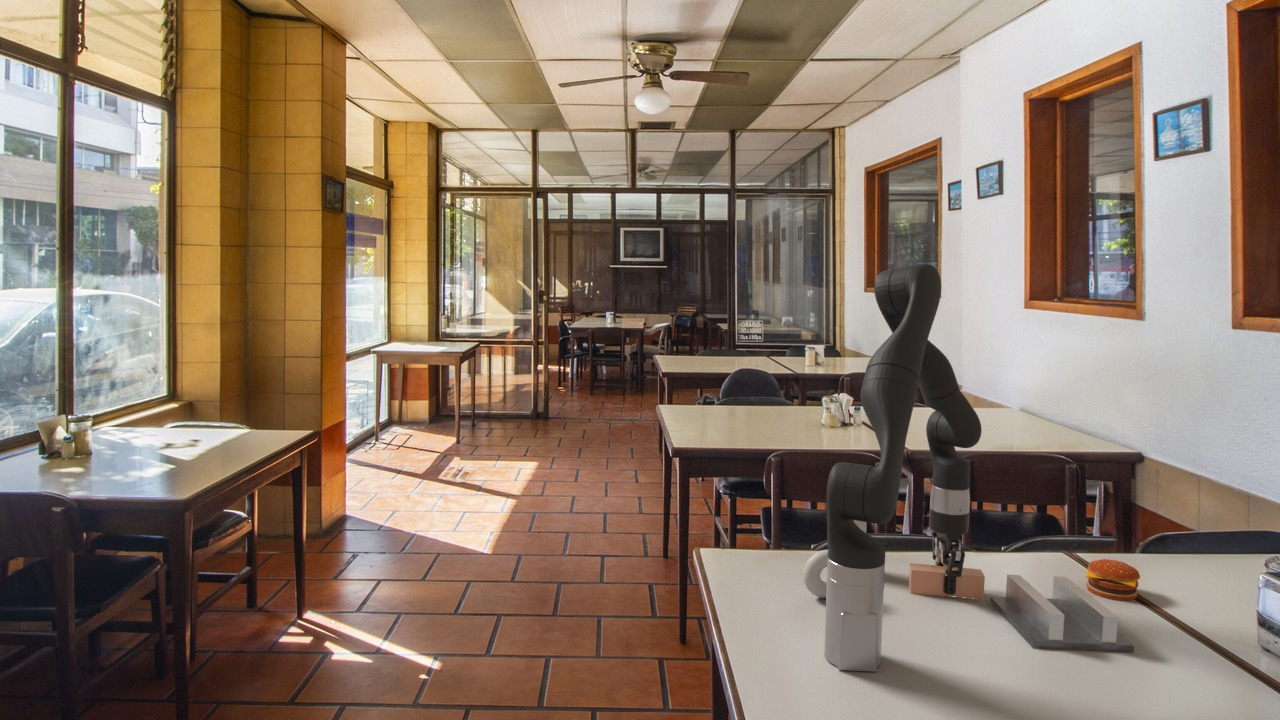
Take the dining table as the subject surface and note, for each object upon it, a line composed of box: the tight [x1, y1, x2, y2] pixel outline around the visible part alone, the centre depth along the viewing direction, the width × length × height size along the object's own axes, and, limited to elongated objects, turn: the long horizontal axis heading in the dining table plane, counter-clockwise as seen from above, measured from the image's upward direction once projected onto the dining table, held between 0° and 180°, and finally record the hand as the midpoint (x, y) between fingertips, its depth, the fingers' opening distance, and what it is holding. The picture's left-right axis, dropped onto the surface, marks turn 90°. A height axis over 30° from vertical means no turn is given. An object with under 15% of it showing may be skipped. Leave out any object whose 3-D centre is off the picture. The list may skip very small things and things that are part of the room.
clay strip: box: [908, 562, 986, 600], centre depth 161 cm, size 4×14×5 cm, turn 77°
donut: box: [802, 548, 828, 599], centre depth 158 cm, size 10×4×10 cm, turn 101°
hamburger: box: [1085, 558, 1141, 602], centre depth 163 cm, size 9×10×7 cm
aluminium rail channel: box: [989, 574, 1135, 653], centre depth 146 cm, size 20×17×6 cm
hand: (945, 588), depth 162 cm, fingers closed on clay strip, 4 cm apart
